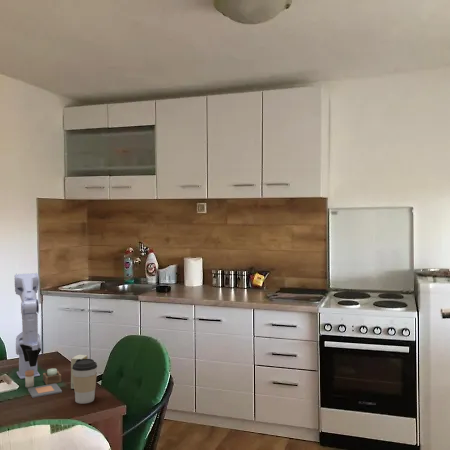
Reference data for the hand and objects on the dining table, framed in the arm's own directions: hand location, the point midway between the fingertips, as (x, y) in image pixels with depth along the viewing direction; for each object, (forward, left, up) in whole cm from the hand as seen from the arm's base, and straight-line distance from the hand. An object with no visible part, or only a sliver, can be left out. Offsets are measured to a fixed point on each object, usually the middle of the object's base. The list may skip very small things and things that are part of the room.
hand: (30, 363), depth 202 cm
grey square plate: (+8, +4, -9) cm, 13 cm away
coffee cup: (+25, +15, -10) cm, 31 cm away
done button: (-2, +9, -8) cm, 12 cm away
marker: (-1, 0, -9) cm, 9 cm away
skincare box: (+10, +17, -10) cm, 22 cm away
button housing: (-2, +9, -9) cm, 13 cm away
